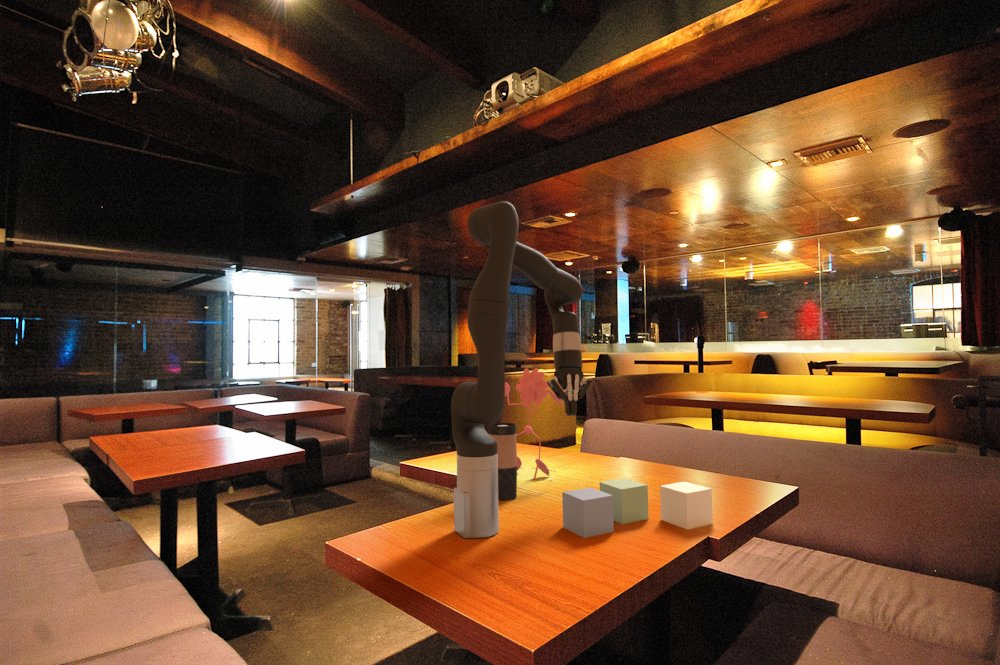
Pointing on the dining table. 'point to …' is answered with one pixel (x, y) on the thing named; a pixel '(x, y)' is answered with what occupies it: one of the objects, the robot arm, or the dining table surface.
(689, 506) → the ivory block
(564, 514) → the slate block
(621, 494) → the sage block
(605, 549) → the dining table surface
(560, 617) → the dining table surface
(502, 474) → the travel mug
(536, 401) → the pink flower figurine
